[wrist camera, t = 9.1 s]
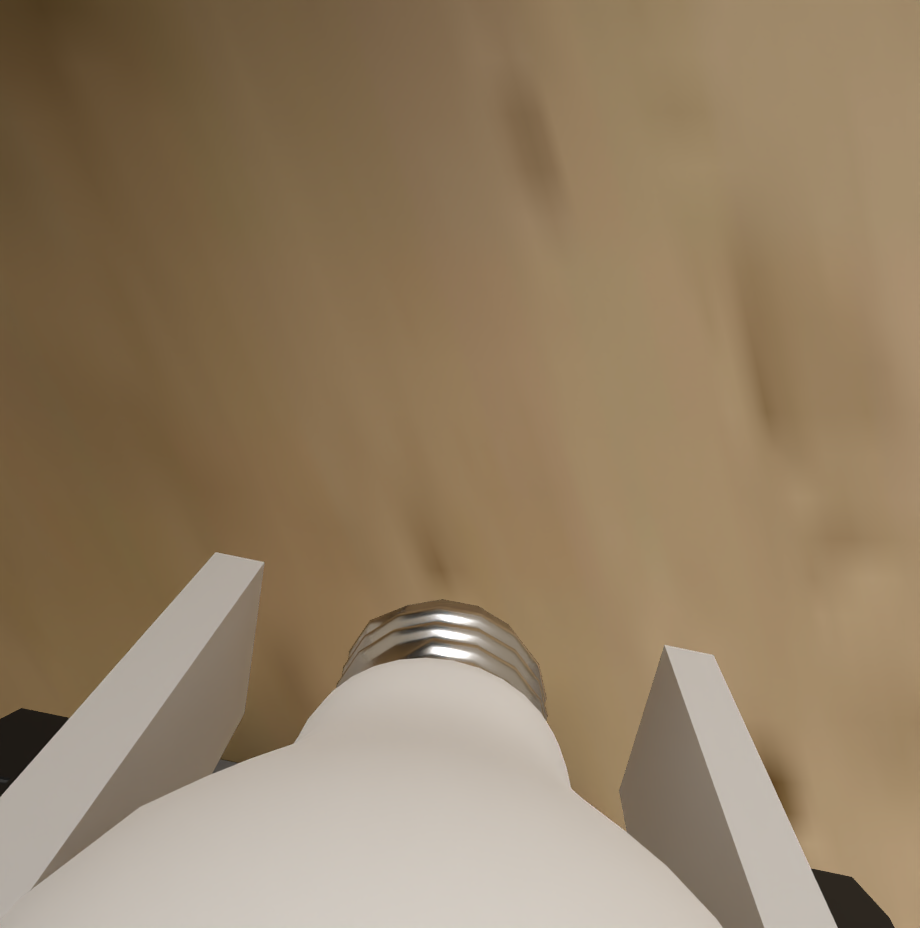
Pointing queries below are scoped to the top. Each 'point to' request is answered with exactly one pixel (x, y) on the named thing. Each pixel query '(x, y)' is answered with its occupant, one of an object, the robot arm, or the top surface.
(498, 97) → the top surface
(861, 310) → the top surface
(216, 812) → the light bulb
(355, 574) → the top surface
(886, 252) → the top surface
